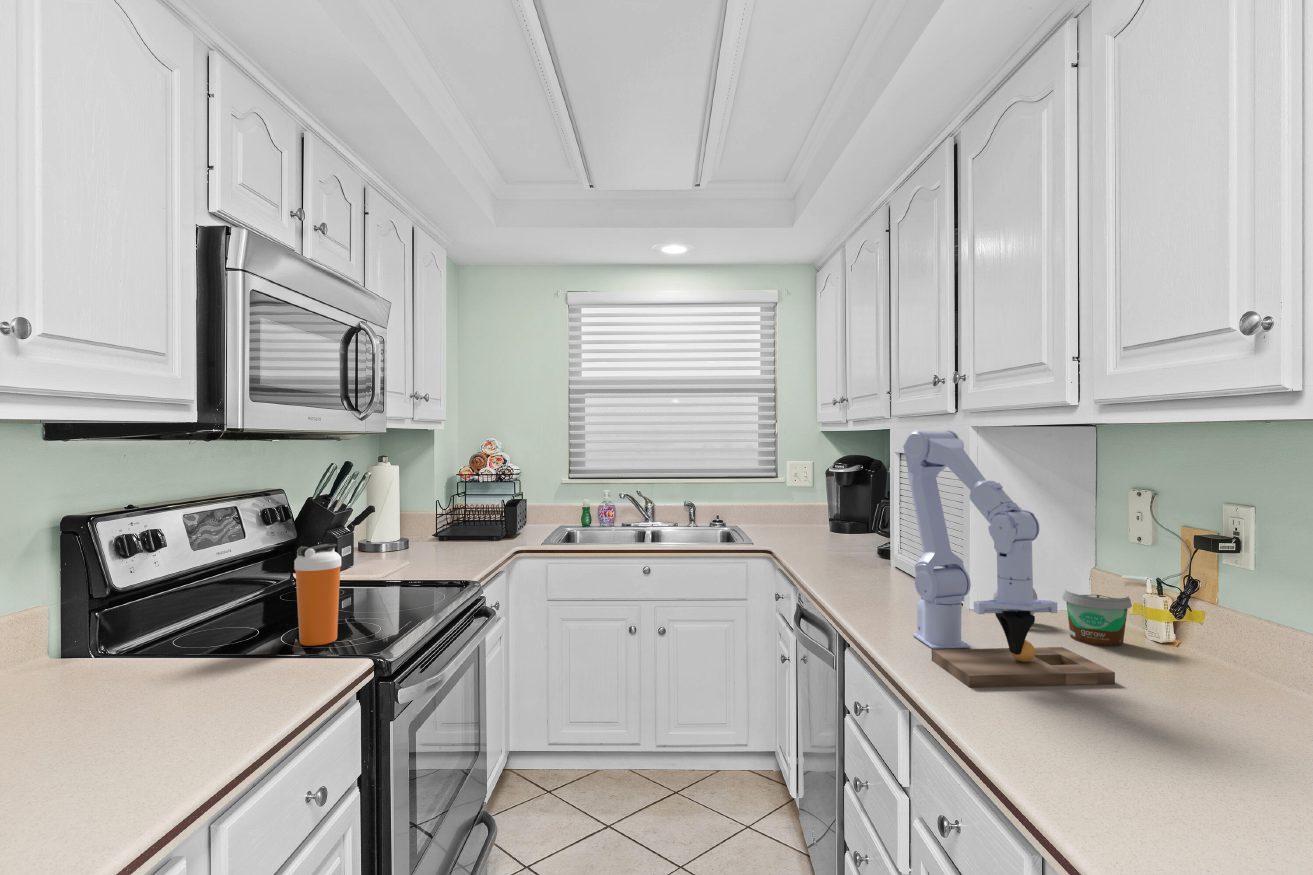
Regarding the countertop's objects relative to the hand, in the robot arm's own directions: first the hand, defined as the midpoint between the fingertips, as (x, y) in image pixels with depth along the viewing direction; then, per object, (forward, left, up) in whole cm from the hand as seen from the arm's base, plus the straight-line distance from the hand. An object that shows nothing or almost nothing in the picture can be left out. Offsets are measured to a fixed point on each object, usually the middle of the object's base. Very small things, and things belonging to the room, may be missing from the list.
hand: (1016, 652), depth 124 cm
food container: (-16, +27, -4) cm, 32 cm away
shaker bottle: (-28, -135, -4) cm, 138 cm away
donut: (-32, +19, -4) cm, 37 cm away
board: (-1, +1, -4) cm, 4 cm away
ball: (0, +2, 0) cm, 2 cm away
